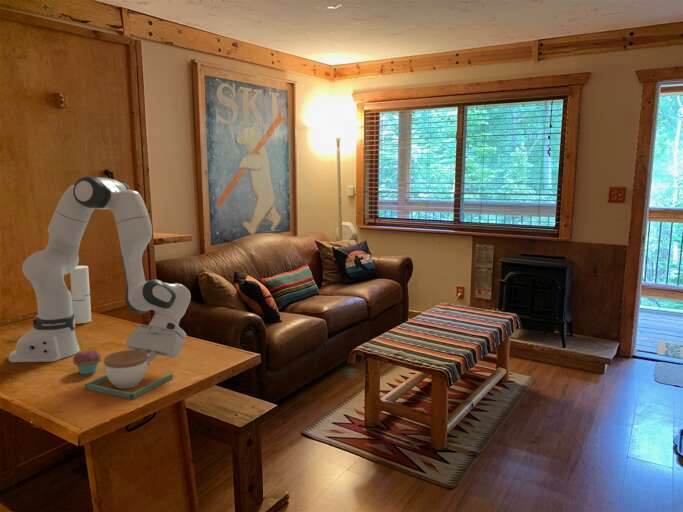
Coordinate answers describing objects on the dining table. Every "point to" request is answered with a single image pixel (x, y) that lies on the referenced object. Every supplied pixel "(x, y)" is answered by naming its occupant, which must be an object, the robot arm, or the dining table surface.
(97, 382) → the teal u-shaped frame
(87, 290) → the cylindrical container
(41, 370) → the dining table surface
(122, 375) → the lidded bowl
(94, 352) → the cupcake
